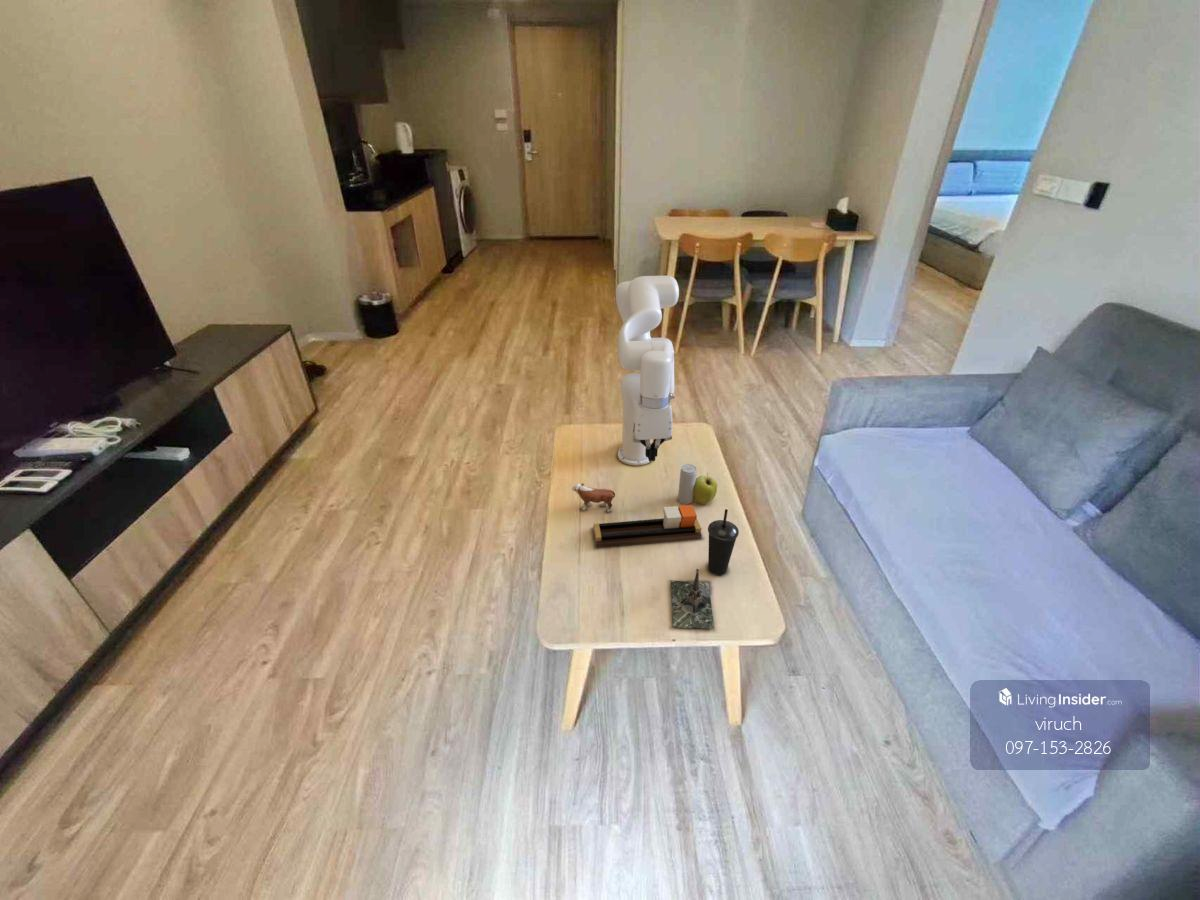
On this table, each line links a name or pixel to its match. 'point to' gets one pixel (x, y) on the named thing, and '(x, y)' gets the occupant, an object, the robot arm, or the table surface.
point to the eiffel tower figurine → (691, 604)
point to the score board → (642, 539)
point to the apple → (704, 489)
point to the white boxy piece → (671, 517)
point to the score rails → (635, 534)
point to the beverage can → (687, 483)
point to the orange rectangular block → (687, 516)
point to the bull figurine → (594, 495)
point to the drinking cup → (721, 544)
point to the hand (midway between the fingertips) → (651, 458)
